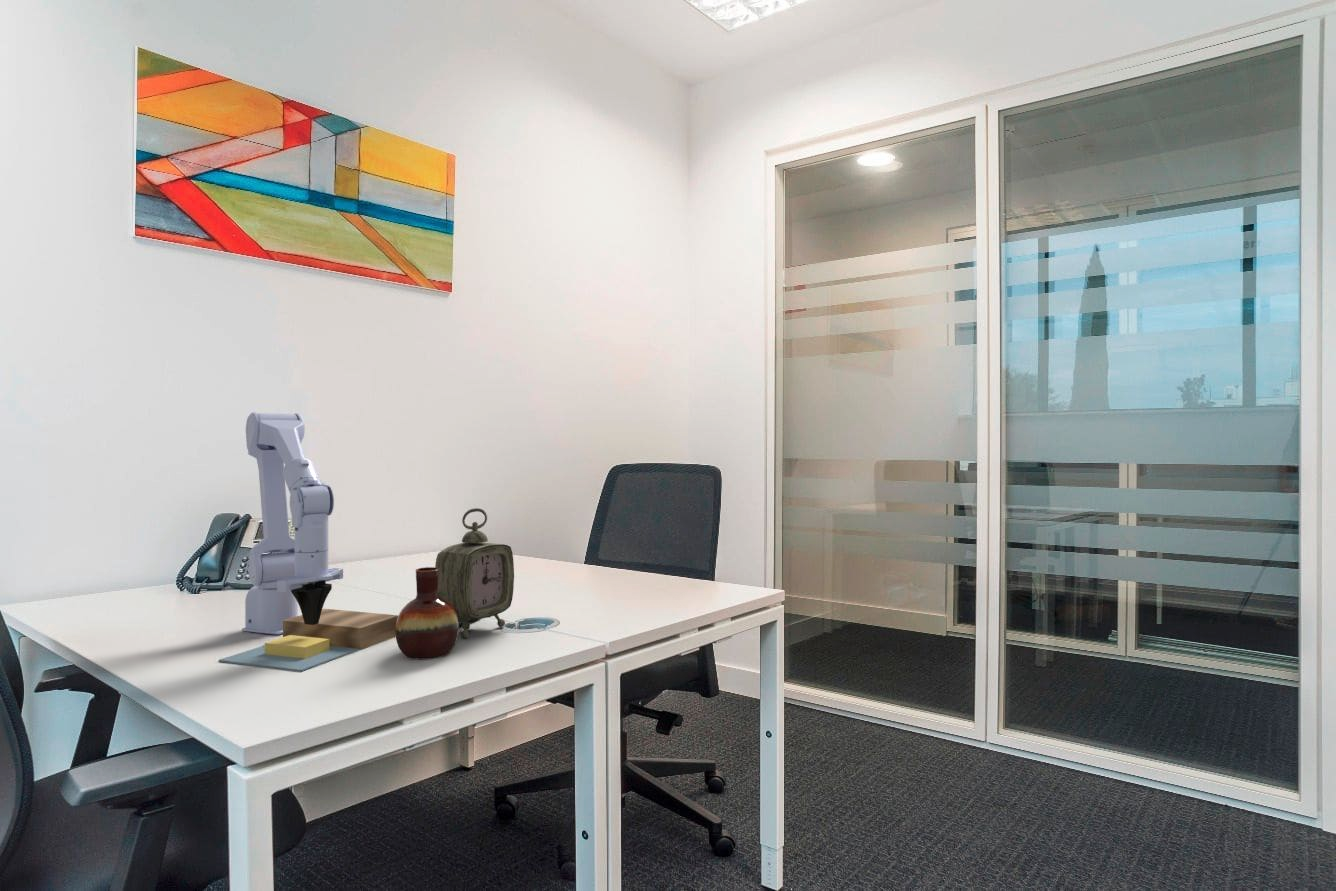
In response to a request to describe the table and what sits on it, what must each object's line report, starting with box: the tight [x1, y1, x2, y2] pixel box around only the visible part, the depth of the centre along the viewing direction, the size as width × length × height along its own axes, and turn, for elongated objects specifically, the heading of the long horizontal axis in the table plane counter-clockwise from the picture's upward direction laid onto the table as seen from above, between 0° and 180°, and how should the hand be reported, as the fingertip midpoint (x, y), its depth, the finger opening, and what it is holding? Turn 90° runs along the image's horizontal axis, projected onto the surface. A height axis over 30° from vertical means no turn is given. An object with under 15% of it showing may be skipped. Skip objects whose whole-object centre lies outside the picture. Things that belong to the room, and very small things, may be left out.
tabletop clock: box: [434, 507, 515, 639], centre depth 160 cm, size 14×9×25 cm, turn 151°
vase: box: [395, 566, 460, 660], centre depth 144 cm, size 11×11×15 cm
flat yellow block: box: [263, 635, 330, 659], centre depth 143 cm, size 9×6×2 cm, turn 72°
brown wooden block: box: [282, 608, 399, 651], centre depth 154 cm, size 18×11×4 cm, turn 72°
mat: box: [218, 645, 360, 673], centre depth 142 cm, size 18×14×1 cm
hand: (311, 623), depth 146 cm, fingers closed
